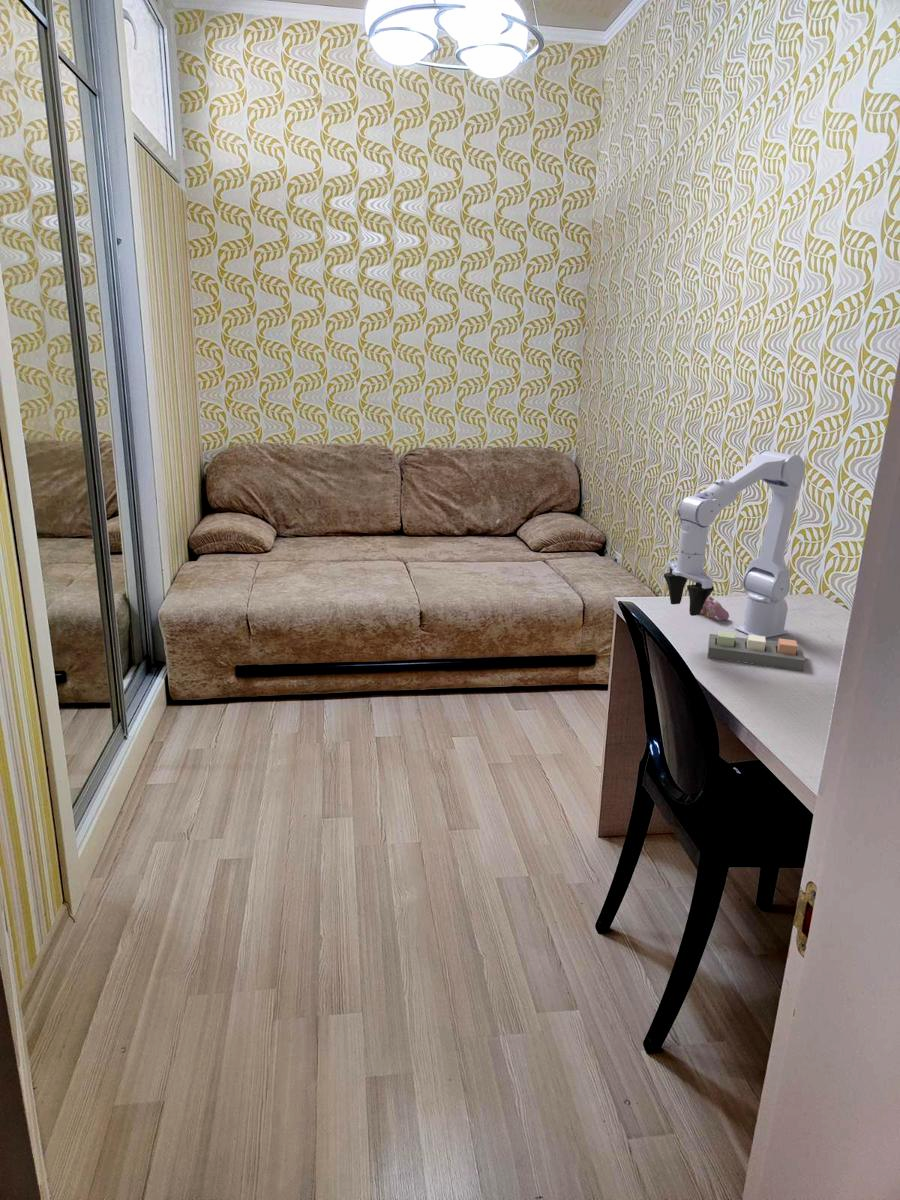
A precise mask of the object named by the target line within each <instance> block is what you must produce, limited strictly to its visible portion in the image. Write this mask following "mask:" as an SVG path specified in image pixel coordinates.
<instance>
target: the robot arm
mask: <svg viewBox="0 0 900 1200" xmlns="http://www.w3.org/2000/svg"><path fill="white" fill-rule="evenodd" d="M806 467H807V465H806V463H805V461H804V460H803V458H802V457H801V456H800V455H798V454H789V453H784V452H778V451H772V450H769V449H761V450H760V451H758V452H757V453H755V454H753V455H752V457H751V460H750V462H749V463H748V464H747V465H746V466H744V467H743V468H741V470H739V471H738V472H737V473H735V474H734V475H733V476H732V477H731V478H729V479H725V478H721V479H719V478H717V479H716V480H714V483H713V484H711V485H710V486H708V487H707V488H705V489H703V490H701V491H700V492H698V493H697V494H696V495H695V496H694V495H688V496H687V497H685V498H683V499H682V500H681V501H680V503H679V506H678V508H676V516H677V518H678V520H679V521H678V522H679V525H678V526H679V529H680V534H679V541H678V542H679V545H678V551H677V552H678V553H677V558H676V559H677V560H676V561H675V560H673V561H667V565H666V567H667V568H666V570H667V571H668V572H665V573H663V577H664V579H665V582H666V585H667V589H668V595H669V601H670V604H671V605H680V604H681V602H682V599H683V593H684V589H685V585H686V583H687V581H688V580H689V581H691V582H693V583H695V584H688V585H687V586H686V588H687V592H688V595H689V615H690V616H692V617H695V616H699V615H700V614H701V613H700V612H701V610H702V607H703V605H704V603H705V601H706V599H707V598H708V596H709V595H710V596H711V594H712V593H713V592H714V590H715V589H714V586H713V582H714V580H713V578H710V577H709V576H708V574H707V573H706V572H705V571H704V568H705V558H706V552H707V551H706V549H707V541H708V534H709V528H710V527H709V526H710V525H712V524H713V523H714V522H715V520H716V519H717V518H716V517H717V516H718V515H719V514H720V513H721V511H722V510H724V509H725V508H727V507H728V506H729V505H732V504H733V503H734V502H735V501H737V498H738V493H740V492H741V491H743V490H746V489H747V488H749V487H750V486H752V485H755V484H756V483H758V482H759V481H763V482H764V483H766V484H767V485H768V487H769V489H771V491H772V497H771V501H770V507H769V511H768V515H767V519H766V520H767V521H766V524H765V528H764V534H763V537H762V541H761V546H760V550H759V555H758V557H756V558H754V559H752V560H751V561H749V562H748V566H747V568H746V571H745V573H744V574H743V577H742V581H741V583H742V587H743V589H744V590H745V595H746V596H747V600H746V607H745V612H744V613H745V614H744V619H743V620H744V621H743V624H742V625H737V626H734V629H735V630H738V631H739V632H740V633H741V632H742V633H744V634H746V635H747V636H748V635H756V636H764V637H765V639H767V638H768V639H769V638H772V637H776V636H781V635H786V634H787V630H785V628H786V627H785V625H786V620H787V617H788V615H787V614H788V603H787V600H786V599H785V598H786V597H787V596H788V595H789V592H790V589H791V581H790V579H791V577H790V576H791V573H792V571H791V570H790V568H789V567H788V566H787V564H786V563H785V562H784V556H785V552H786V548H787V544H788V539H789V535H790V532H791V531H790V530H791V527H792V522H793V518H794V514H795V510H796V505H797V501H798V497H799V491H800V490H801V489H802V488H801V487H802V483H803V480H804V475H805V471H806Z"/></svg>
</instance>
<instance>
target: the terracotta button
mask: <svg viewBox="0 0 900 1200" xmlns="http://www.w3.org/2000/svg"><path fill="white" fill-rule="evenodd" d="M777 643H778V647H777V653H782V654H789V655H796V651H797V645H798V643H797V640H794V639H785V638H778V641H777Z"/></svg>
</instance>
